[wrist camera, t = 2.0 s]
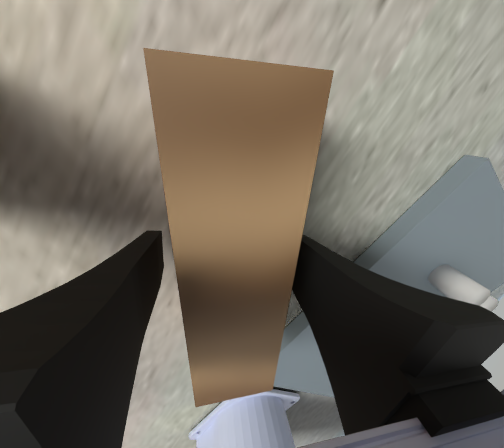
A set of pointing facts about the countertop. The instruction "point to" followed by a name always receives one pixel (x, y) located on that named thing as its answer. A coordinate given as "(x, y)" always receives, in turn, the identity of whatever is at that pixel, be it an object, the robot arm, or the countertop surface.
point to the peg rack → (422, 259)
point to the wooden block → (235, 204)
